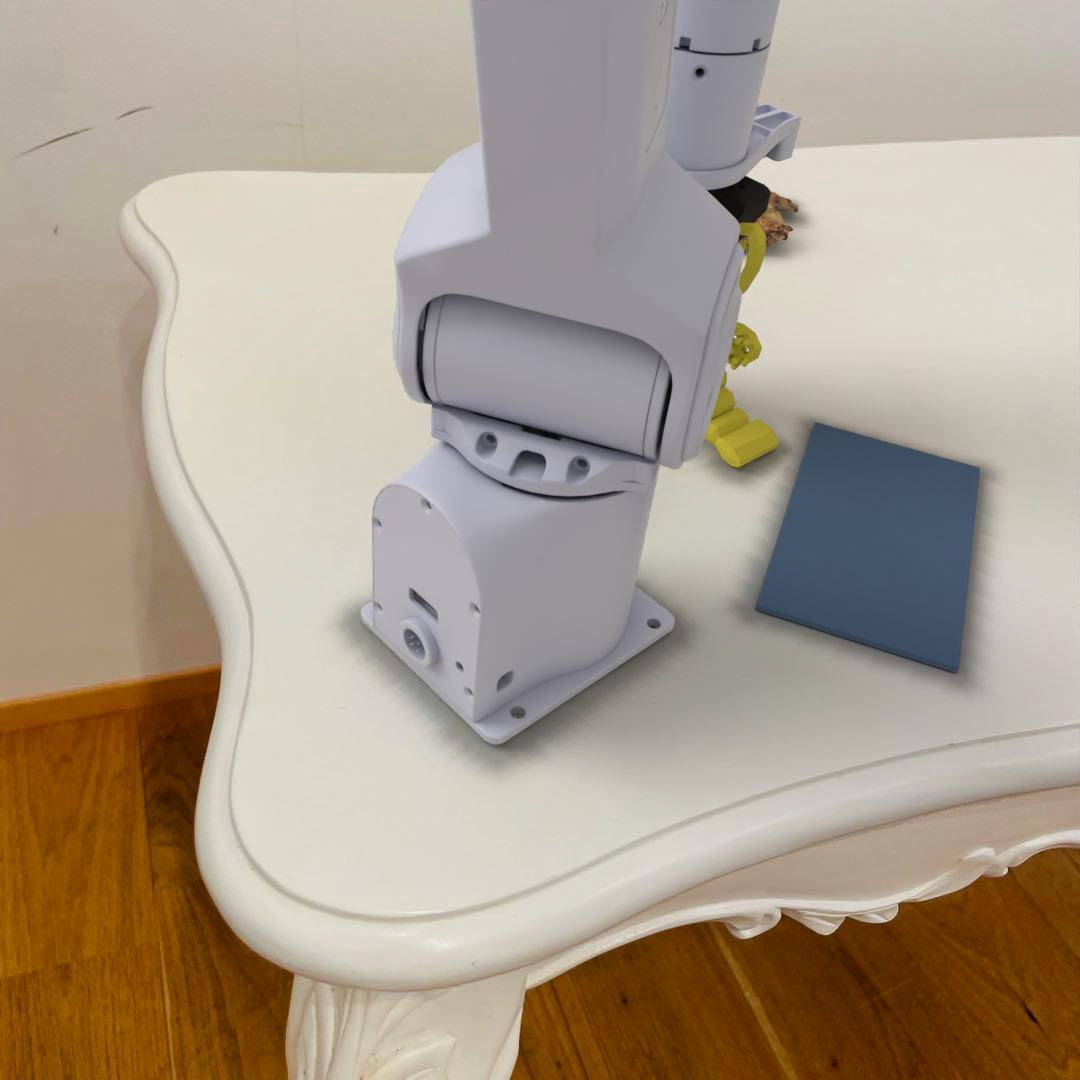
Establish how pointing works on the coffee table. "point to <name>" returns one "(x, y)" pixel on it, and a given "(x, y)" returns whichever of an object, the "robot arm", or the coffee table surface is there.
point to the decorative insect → (728, 424)
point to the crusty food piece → (774, 220)
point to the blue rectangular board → (876, 546)
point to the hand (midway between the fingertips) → (644, 333)
